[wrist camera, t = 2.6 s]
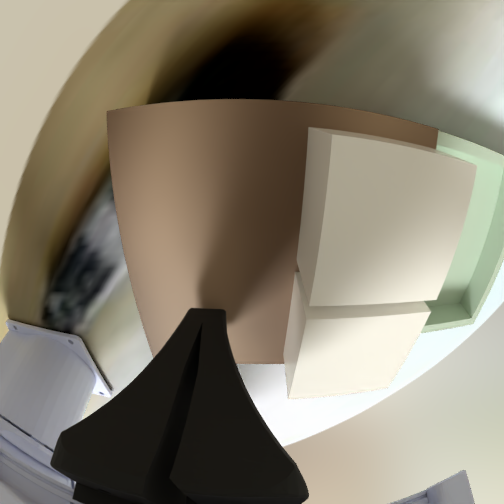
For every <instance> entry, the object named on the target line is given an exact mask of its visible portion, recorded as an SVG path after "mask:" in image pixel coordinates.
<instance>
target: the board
mask: <svg viewBox="0 0 504 504" xmlns="http://www.w3.org/2000/svg"><path fill="white" fill-rule="evenodd" d="M309 127H314V128H323V129H332V130H340V131H348V132H354V133H361V134H367V135H373V136H379V137H384V138H389V139H394V140H399V141H404V142H408V143H413V144H417V145H421V146H425V147H429V148H433V149H436V147H437V138H438V129H436V128H433V127H430V126H426V125H423V124H419V123H416V122H412V121H408V120H404V119H400V118H396V117H392V116H387V115H383V114H378V113H373V112H368V111H363V110H357V109H351V108H345V107H338V106H331V105H324V104H315V103H306V102H294V101H281V100H260V99H212V100H191V101H178V102H167V103H157V104H149V105H141V106H134V107H128V108H122V109H116V110H110V111H107V131H108V146H109V158H110V168H111V177H112V185H113V193H114V200H115V206H116V213H117V219H118V224H119V230H120V235H121V240H122V245H123V250H124V255H125V260H126V264H127V268H128V273H129V277H130V281H131V285H132V289H133V293H134V297H135V300H136V304H137V307H138V311H139V314H140V318H141V321H142V325H143V328H144V331H145V334H146V337H147V340H148V343H149V346H150V349H151V352H152V355H153V358H154V357H155V356H156V355H157V354H158V352H159V351H160V350H161V349H162V347H163V346H164V345H165V343H166V342H167V341H168V339H169V338H170V337H171V335H172V334H173V333H174V331H175V330H176V328H177V327H178V325H179V324H180V322H181V321H182V319H183V318H184V316H185V315H186V313H187V311H188V310H189V309H190V308H207V309H224V310H225V311H226V318H227V334H228V339H229V343H230V346H231V350H232V353H233V357H234V360H235V363H236V364H284V356H283V353H284V346H285V340H286V334H287V327H288V320H289V313H290V306H291V299H292V292H293V284H294V277H295V272H300V271H299V267H298V263H297V252H298V243H299V234H300V225H301V215H302V205H303V194H304V183H305V171H306V158H307V143H308V128H309Z"/></svg>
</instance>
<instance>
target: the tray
mask: <svg viewBox="0 0 504 504" xmlns="http://www.w3.org/2000/svg"><path fill="white" fill-rule="evenodd" d="M436 150H438V151H441V152H444V153H447V154H450V155H452V156H455V157H458V158H460V159H463V160H465V161H468V162H470V163H473V164H475V165H477V171H476V176H475V181H474V186H473V191H472V195H471V199H470V204H469V208H468V211H467V215H466V219H465V222H464V226H463V229H462V233H461V236H460V239H459V242H458V245H457V248H456V251H455V254H454V257H453V260H452V263H451V265H450V268H449V271H448V273H447V276H446V278H445V281H444V283H443V286H442V288H441V290H440V293H439V295H438V297H437V300H428V301H424V302H425V303H426V305H427V306H428V308H429V309H430V311H431V313H430V315H429V317H428V319H427V321H426V323H425V325H424V327H423V329H422V331H421V333H426V332H432V331H438V330H444V329H450V328H455V327H460V326H465V325H470V324H473V323H474V321H475V319H476V318H477V316H478V314H479V312H480V310H481V308H482V306H483V304H484V302H485V300H486V298H487V296H488V294H489V292H490V290H491V288H492V286H493V283H494V281H495V279H496V277H497V274H498V272H499V270H500V267H501V265H502V262H503V260H504V155H502V154H499V153H497V152H495V151H492V150H490V149H488V148H485V147H483V146H480V145H478V144H475V143H473V142H470V141H467V140H465V139H462V138H459V137H456V136H453V135H450V134H447V133H444V132H441V131H438V138H437V147H436Z"/></svg>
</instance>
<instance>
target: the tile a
mask: <svg viewBox="0 0 504 504" xmlns="http://www.w3.org/2000/svg"><path fill="white" fill-rule="evenodd" d="M430 313H431V311H430V309H429V308H428V306H427V305H426V303H425V302H424V301H416V302H402V303H386V304H368V305H343V306H309V304H308V300H307V297H306V293H305V289H304V285H303V282H302V278H301V274H300V272H295V277H294V284H293V292H292V299H291V306H290V313H289V320H288V327H287V334H286V340H285V346H284V353H283V356H284V365H285V374H286V383H287V393H288V399H304V398H317V397H328V396H338V395H346V394H354V393H361V392H368V391H374V390H380V389H385V388H388V387H389V386H390V384H391V383H392V381H393V380H394V378H395V376H396V375H397V373H398V372H399V370H400V368H401V367H402V365H403V363H404V362H405V360H406V358H407V357H408V355H409V353H410V351H411V350H412V348H413V346H414V344H415V342H416V340H417V339H418V337H419V335H420V333H421V331H422V329H423V327H424V325H425V323H426V321H427V319H428V317H429V315H430Z"/></svg>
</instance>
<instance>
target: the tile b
mask: <svg viewBox="0 0 504 504" xmlns="http://www.w3.org/2000/svg"><path fill="white" fill-rule="evenodd" d="M476 171H477V165H475V164H473V163H470V162H468V161H465V160H463V159H460V158H458V157H455V156H452V155H450V154H447V153H444V152H441V151H438V150H436V149H433V148H429V147H425V146H421V145H417V144H413V143H408V142H404V141H399V140H394V139H389V138H384V137H379V136H373V135H367V134H361V133H354V132H348V131H340V130H332V129H323V128H314V127H309V128H308V143H307V158H306V171H305V183H304V194H303V205H302V215H301V225H300V234H299V243H298V252H297V263H298V267H299V271H300V274H301V278H302V282H303V285H304V289H305V293H306V297H307V300H308V304H309V306H343V305H368V304H386V303H402V302H416V301H428V300H437V297H438V295H439V293H440V290H441V288H442V286H443V283H444V281H445V278H446V276H447V273H448V271H449V268H450V265H451V263H452V260H453V257H454V254H455V251H456V248H457V245H458V242H459V239H460V236H461V233H462V229H463V226H464V222H465V219H466V215H467V211H468V208H469V204H470V199H471V195H472V191H473V186H474V181H475V176H476Z"/></svg>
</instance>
